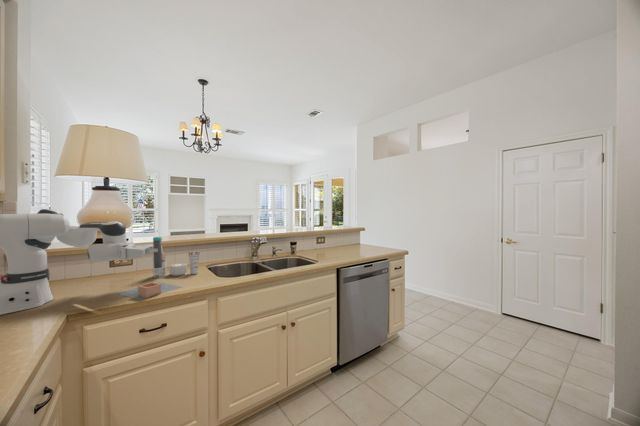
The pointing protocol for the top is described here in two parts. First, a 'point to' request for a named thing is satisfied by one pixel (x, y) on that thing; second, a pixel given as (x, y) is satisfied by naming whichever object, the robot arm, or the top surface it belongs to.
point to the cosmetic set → (178, 266)
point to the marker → (157, 254)
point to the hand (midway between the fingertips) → (159, 249)
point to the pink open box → (149, 289)
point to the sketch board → (164, 288)
